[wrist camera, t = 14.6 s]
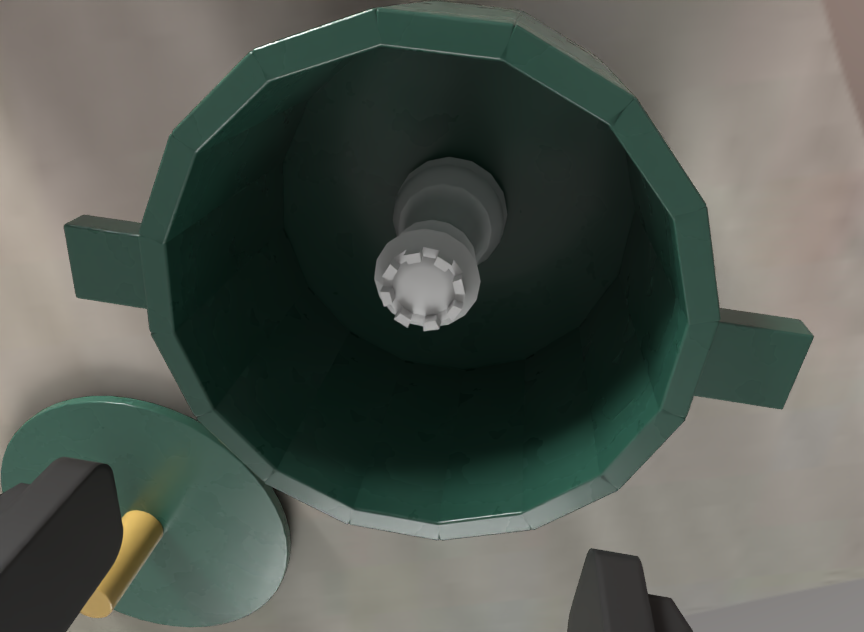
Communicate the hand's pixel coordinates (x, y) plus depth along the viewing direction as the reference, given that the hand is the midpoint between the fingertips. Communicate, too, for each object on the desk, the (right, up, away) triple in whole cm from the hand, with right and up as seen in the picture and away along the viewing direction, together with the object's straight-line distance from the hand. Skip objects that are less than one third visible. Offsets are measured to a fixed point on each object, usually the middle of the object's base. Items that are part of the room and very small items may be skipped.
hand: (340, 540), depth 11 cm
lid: (-14, -8, +26) cm, 30 cm away
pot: (+2, +8, +16) cm, 18 cm away
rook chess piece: (+2, +8, +15) cm, 18 cm away
